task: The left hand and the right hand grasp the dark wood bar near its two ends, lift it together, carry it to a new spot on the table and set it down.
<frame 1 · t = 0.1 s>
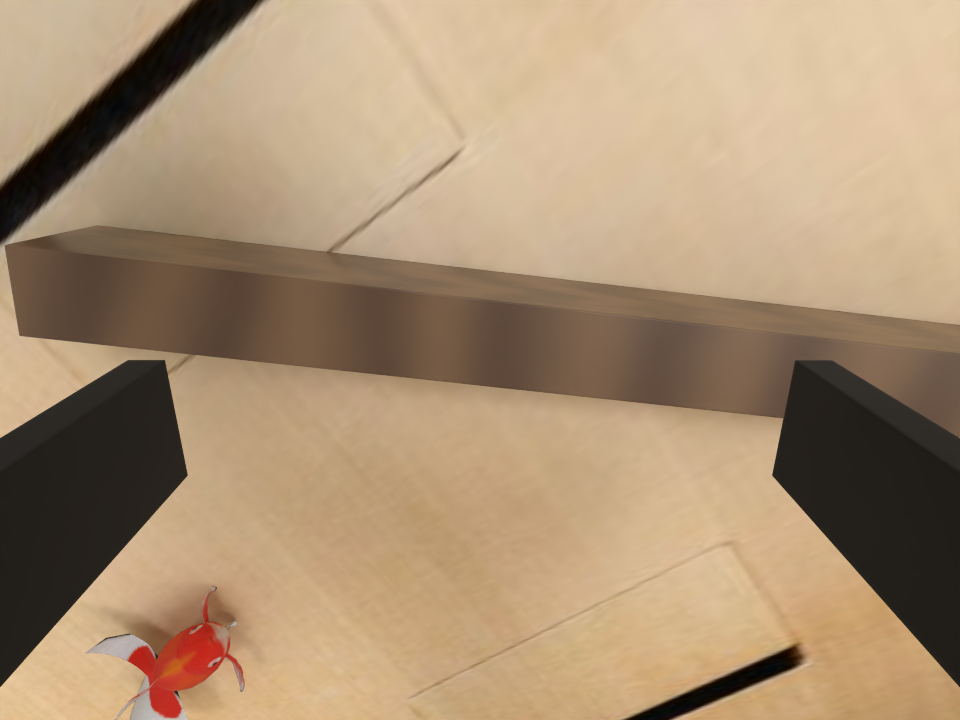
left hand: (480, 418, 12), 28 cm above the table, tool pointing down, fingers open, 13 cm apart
fish: (195, 636, 51), on the table
bar: (631, 323, 41), on the table
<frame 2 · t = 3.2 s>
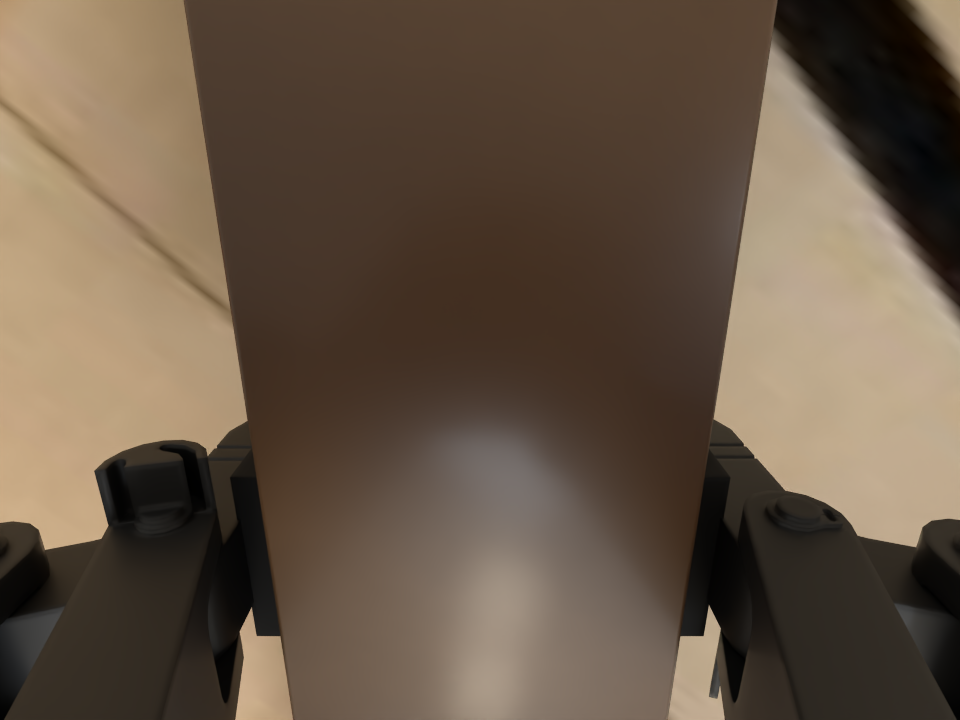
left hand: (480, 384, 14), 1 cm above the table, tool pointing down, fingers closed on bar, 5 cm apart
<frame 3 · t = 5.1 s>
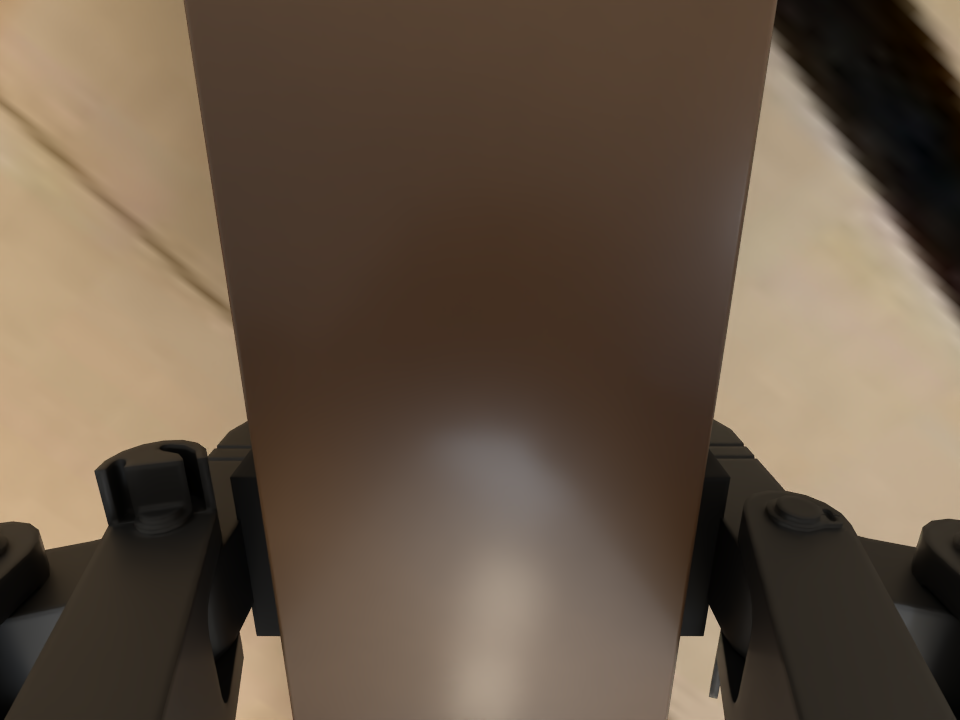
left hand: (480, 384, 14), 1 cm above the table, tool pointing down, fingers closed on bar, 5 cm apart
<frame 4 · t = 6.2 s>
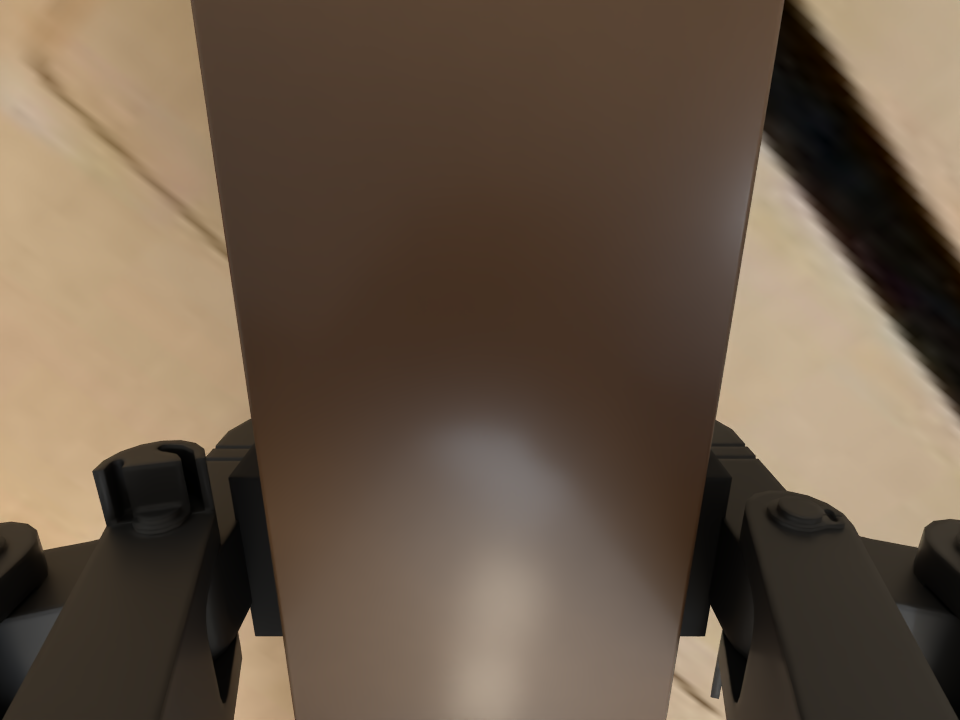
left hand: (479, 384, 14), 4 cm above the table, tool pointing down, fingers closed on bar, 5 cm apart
when the left hand's fingers open (2 cm above the table, at t = 9.4 s): bar stays where it is, on the table.
when the right hand's fingers open (4 cm above the table, at t = 9.6 s): bar stays where it is, on the table.
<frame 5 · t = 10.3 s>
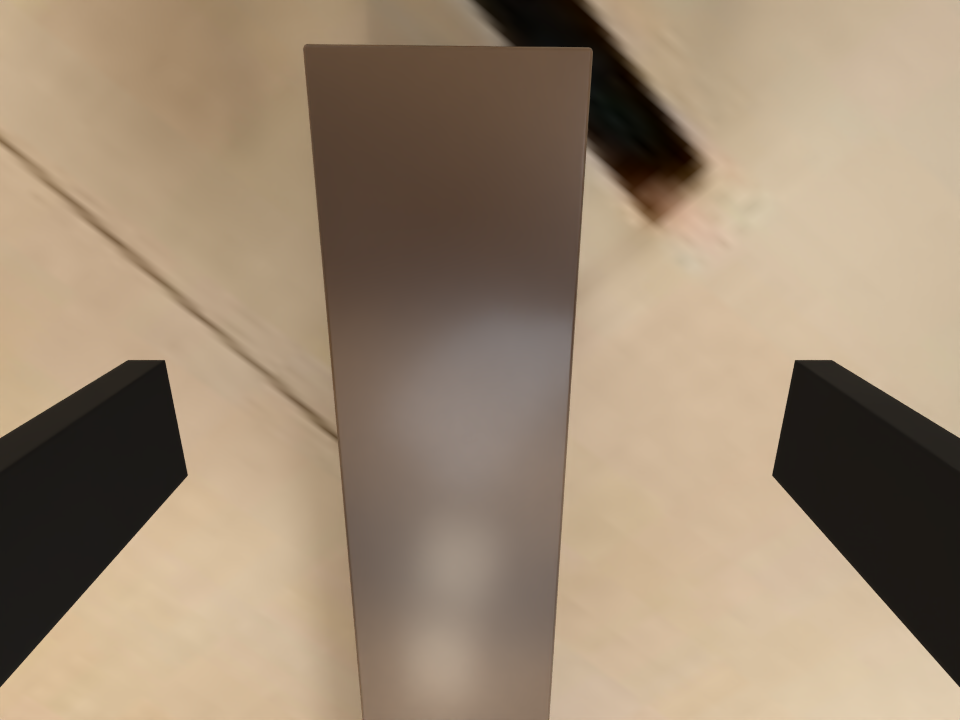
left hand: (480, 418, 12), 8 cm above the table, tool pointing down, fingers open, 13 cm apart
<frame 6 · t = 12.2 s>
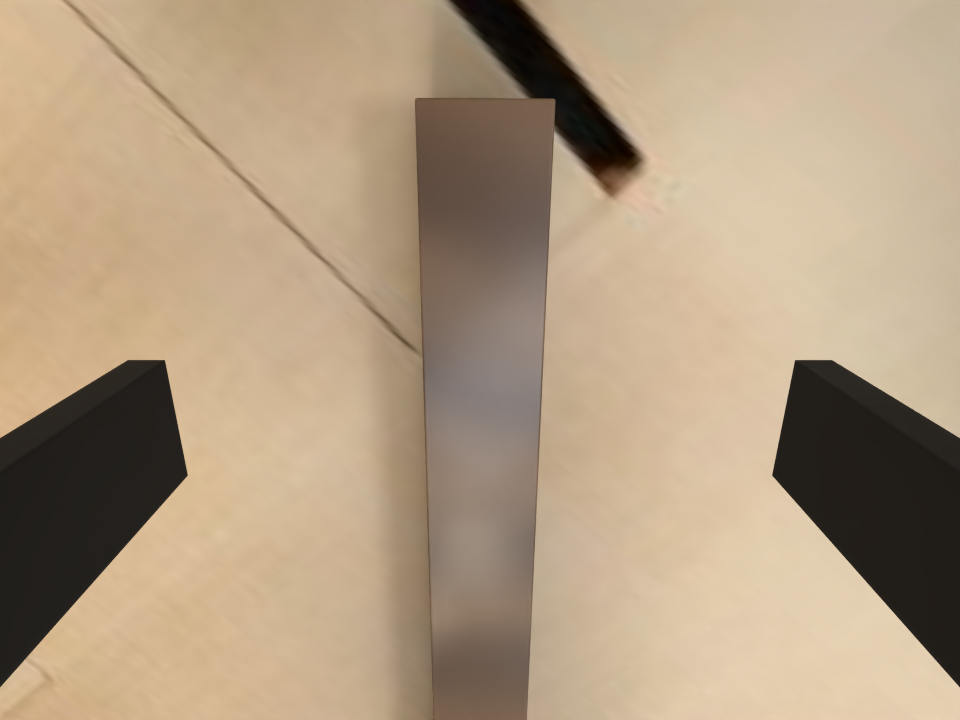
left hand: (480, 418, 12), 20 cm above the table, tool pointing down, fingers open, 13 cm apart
bar: (479, 668, 41), on the table
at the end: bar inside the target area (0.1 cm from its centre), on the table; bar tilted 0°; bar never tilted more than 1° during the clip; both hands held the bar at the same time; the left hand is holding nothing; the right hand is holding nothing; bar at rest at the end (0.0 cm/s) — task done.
